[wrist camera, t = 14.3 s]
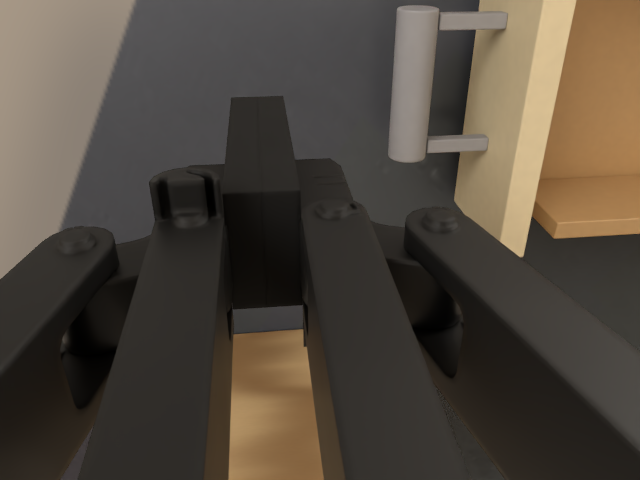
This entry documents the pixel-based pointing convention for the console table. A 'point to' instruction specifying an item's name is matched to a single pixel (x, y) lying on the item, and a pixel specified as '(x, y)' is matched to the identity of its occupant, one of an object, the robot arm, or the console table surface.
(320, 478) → the stand
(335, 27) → the console table surface
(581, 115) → the drawer
